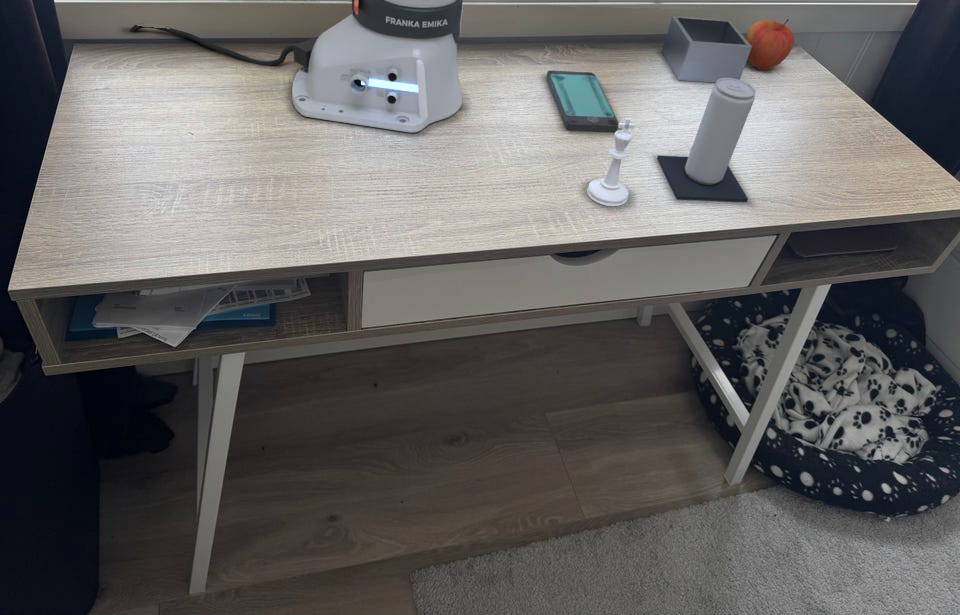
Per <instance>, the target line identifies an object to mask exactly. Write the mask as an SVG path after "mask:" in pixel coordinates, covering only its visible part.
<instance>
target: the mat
mask: <svg viewBox="0 0 960 615" xmlns="http://www.w3.org/2000/svg"><path fill="white" fill-rule="evenodd" d="M688 157H689V156H679V155H678V156H676V155H657V157H656V159H657V162H658V164H659V166H660V167H661V170H662V172H663V174H664V177H665V179H666V180H667V183H668V185H669V186H670V188H671V190H672V193H673V195H674V197H675V199H676V200H679V201H680V200H681V201H682V200H683V201H706V202H707V201H708V202H731V203H748V200H749V198H748V196H747V195H746V193H745V191H744V190H743V188H742V186H741V185H740V183H739V181H738V180H737V178H736V176H735V175H734V172H733V171H732V170H731V168H730V166H729V165H728V167H727V170H726V172H725V175H724V177H723V179H722V180H721V181H720V182H718V183H716V184H714V185H703V184H700V183H697V182H695V181H693V180H692V179H690V178H689V177H688V175H687V174H686V171H685V166H686V163H687V160H688Z"/></svg>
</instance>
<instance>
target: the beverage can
mask: <svg viewBox="0 0 960 615" xmlns="http://www.w3.org/2000/svg"><path fill="white" fill-rule="evenodd" d="M756 93H757V91H756V88H755V87H754V86H753V85H751V84H750V83H748V82H747V81H744V80H742V79H740V80H739V79H734V78H721V79H718V80H717V81H716V83H715V84H713V87H712V89H711V92H710V95H709V98H708V100H707V103H706V105H705V109H704V112H703V115H702V118H701V119H700V120H701V121H700V123H699V126H698V129H697V132H696V135H695V138H694V140H693V144H692V146H691V149H690V151H689V155H688V156H687V157H688V160H687V163H686V166H685V171H686V174H687V175H688V177H689V178H690V179H692V180H693V181H695V182H697V183H700V184H703V185H714V184H716V183H718V182H720V181H721V180H722V179H723V177H724V175H725V172H726V170H727V167H728V166H729V164H730V162H731V159H732V157H733V155H734V152H735V150H736V147H737V144H738V142H739V139H740V138H741V135H742V132H743V129H744V127H745V124H746V122H747V120H748V117H749V115H750V112H751V109H752V107H753V103H754V102H755V99H756V96H755V95H756Z"/></svg>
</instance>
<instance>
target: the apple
mask: <svg viewBox="0 0 960 615" xmlns="http://www.w3.org/2000/svg"><path fill="white" fill-rule="evenodd" d="M789 21H790V18H787V19H786V20H785V22H784V23H781V22H779V21H775V20H771V19H761V20H758V21H755V22H754V23H752V25H751V26H750V27H749V28H748V30H747V32H746V35H745V36H744V38H745V39H746V40H747V41H748V43H749V44H750V45H751V46H752V48H751V51H750V53H749V56H748V59H747V61H749V62H750V64H751V65H752V66H754V67H755V68H756V69H757V70H759V71H766V70H769V69H772V68H775V67H777V66H778V65H780V64H781V63H782V62H784V61H785V59H786V58H787V57H788V56H789V54H790V53H791V52H792V49H793V47H794V44H795V34H794V32H793V31H792V30H791V29H790V28H789V27H788V26H786V24H787V23H788V22H789Z"/></svg>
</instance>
